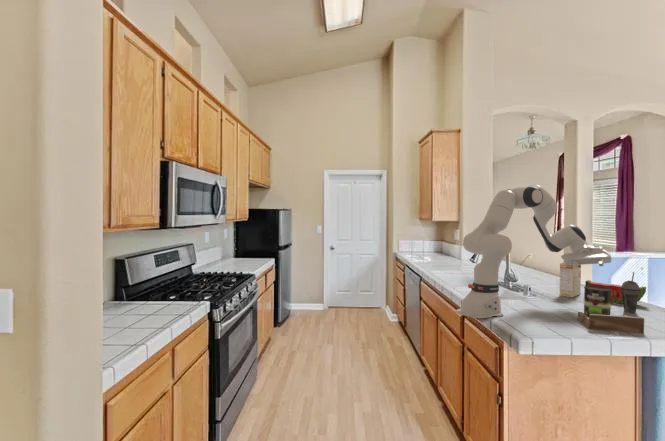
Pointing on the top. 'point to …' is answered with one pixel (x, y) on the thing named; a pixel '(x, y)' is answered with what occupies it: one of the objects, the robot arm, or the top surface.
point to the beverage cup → (630, 295)
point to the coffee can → (597, 300)
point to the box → (612, 322)
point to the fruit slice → (615, 291)
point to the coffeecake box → (570, 280)
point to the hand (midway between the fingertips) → (590, 265)
